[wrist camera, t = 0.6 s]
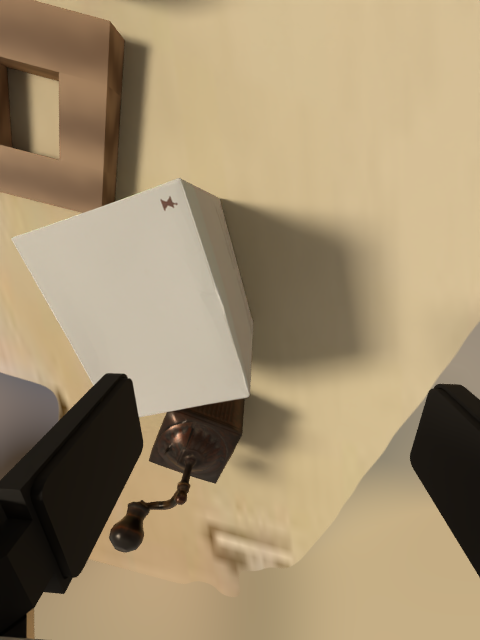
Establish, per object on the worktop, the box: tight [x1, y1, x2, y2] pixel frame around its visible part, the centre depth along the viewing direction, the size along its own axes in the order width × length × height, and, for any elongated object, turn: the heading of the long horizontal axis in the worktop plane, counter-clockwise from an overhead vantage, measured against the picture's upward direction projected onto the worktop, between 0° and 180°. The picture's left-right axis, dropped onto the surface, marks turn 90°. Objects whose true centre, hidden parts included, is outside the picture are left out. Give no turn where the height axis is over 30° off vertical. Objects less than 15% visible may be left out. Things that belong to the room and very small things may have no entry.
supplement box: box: [12, 178, 253, 417], centre depth 29 cm, size 17×13×18 cm
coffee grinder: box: [109, 398, 245, 552], centre depth 37 cm, size 16×11×18 cm
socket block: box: [0, 0, 125, 213], centre depth 30 cm, size 18×18×3 cm
